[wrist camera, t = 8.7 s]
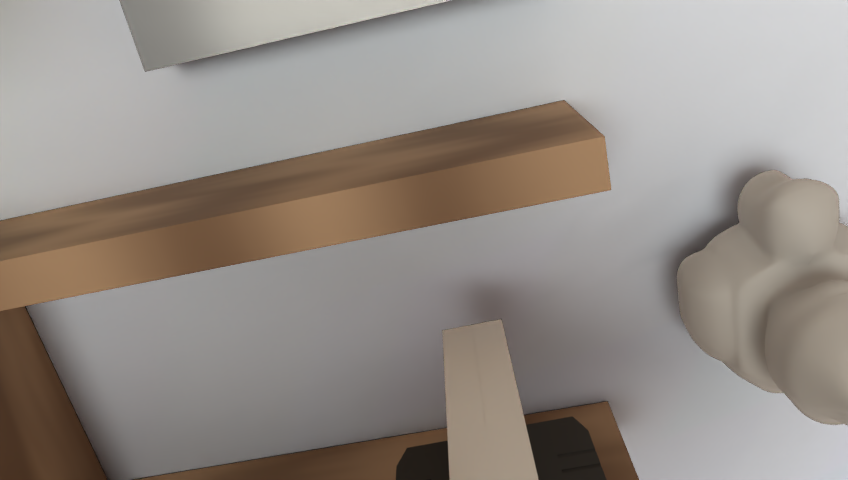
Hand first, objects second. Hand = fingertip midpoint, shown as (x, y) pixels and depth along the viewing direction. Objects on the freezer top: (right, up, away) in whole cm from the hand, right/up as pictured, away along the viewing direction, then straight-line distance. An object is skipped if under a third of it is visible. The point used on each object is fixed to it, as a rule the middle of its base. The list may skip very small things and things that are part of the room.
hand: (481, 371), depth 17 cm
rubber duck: (+8, +3, +4) cm, 10 cm away
